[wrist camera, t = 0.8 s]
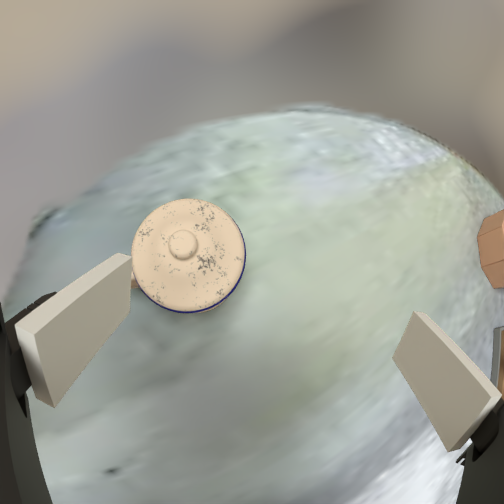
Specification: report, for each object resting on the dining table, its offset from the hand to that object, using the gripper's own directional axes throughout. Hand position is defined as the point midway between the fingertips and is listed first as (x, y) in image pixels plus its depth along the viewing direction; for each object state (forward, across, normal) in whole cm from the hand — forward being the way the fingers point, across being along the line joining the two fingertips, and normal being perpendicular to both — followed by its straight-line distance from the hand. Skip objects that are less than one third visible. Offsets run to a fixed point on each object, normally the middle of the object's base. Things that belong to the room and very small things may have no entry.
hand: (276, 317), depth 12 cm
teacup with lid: (+17, +8, +6) cm, 20 cm away
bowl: (+25, -42, -4) cm, 49 cm away
